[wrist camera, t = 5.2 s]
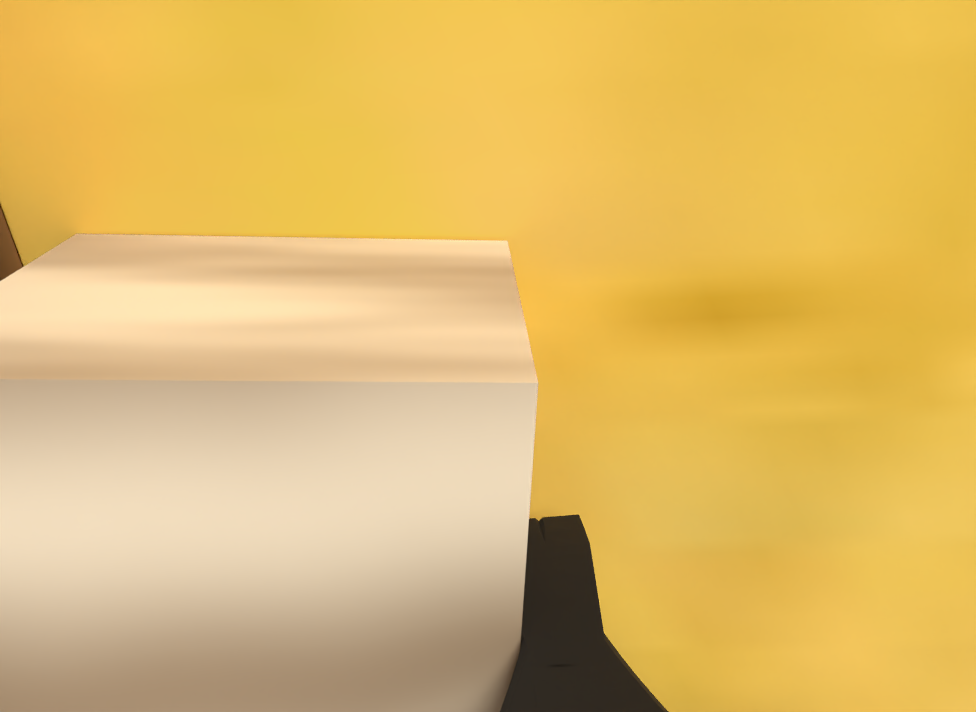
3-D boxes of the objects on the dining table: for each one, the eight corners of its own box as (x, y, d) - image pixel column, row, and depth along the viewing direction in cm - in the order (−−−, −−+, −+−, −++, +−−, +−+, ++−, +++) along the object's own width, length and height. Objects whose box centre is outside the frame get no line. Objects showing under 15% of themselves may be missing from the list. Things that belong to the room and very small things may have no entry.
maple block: (489, 666, 17) (501, 915, 12) (174, 670, 16) (68, 928, 12) (507, 240, 12) (537, 382, 8) (76, 233, 12) (-156, 377, 7)
